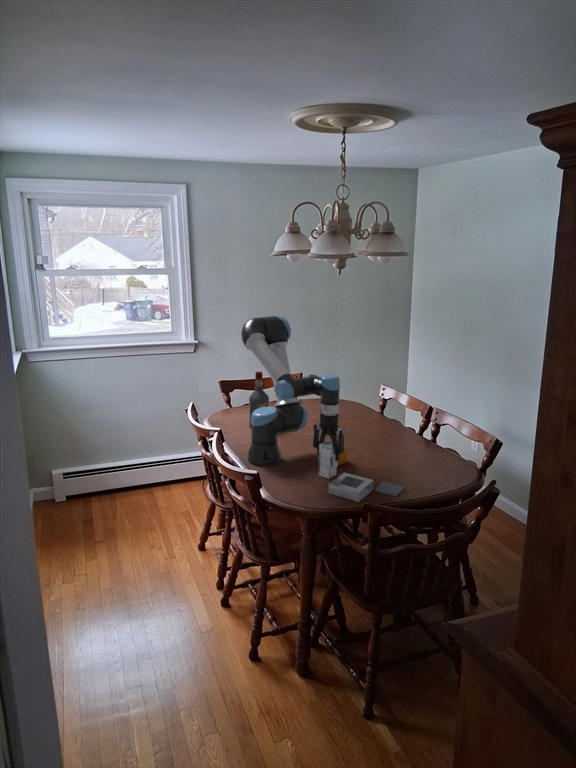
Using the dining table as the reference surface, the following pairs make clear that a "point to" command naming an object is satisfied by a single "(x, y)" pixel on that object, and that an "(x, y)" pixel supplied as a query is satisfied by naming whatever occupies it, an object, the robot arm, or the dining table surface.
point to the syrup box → (326, 460)
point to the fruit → (342, 458)
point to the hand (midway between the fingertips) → (327, 465)
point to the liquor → (257, 396)
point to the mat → (389, 489)
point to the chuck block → (355, 494)
